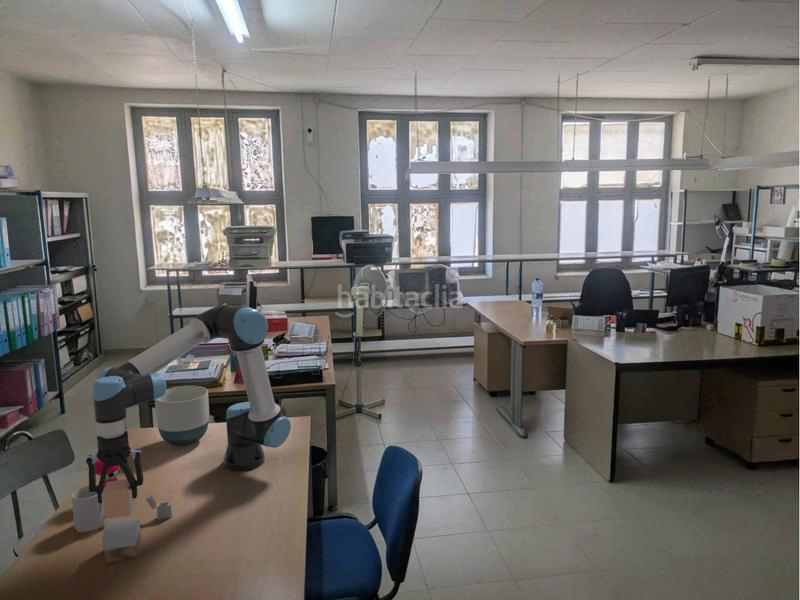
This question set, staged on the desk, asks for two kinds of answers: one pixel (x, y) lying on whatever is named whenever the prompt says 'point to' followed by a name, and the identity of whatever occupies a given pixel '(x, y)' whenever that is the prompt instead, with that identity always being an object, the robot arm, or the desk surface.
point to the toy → (111, 472)
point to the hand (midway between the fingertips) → (119, 510)
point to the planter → (183, 414)
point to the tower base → (123, 552)
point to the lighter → (160, 508)
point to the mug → (87, 511)
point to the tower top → (121, 533)
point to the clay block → (116, 499)
